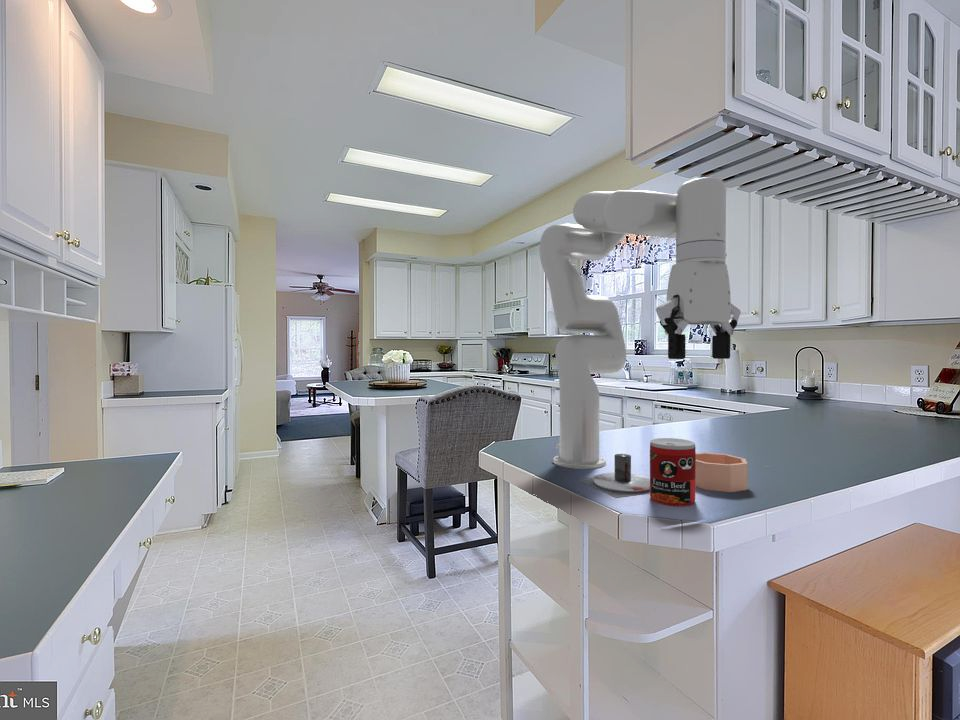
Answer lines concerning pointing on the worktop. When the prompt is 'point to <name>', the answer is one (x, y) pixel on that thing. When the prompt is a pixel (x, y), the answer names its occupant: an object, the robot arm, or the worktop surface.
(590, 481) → the plate
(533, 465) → the worktop surface
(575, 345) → the robot arm
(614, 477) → the lid
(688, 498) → the canned food
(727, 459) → the bowl
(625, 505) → the worktop surface
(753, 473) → the worktop surface
